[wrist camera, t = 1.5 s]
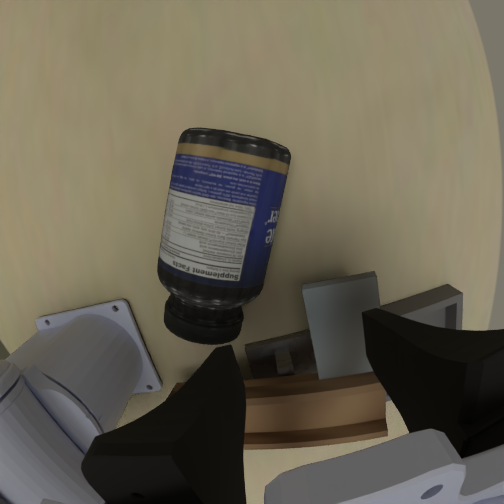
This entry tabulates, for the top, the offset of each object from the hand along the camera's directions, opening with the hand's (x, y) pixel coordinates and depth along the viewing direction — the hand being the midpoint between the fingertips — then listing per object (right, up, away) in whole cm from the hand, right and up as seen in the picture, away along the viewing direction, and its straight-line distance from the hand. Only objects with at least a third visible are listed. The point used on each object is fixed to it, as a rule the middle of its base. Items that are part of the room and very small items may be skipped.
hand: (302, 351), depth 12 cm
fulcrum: (+1, -6, +11) cm, 13 cm away
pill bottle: (-3, +10, +5) cm, 11 cm away
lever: (-1, -4, +8) cm, 8 cm away
